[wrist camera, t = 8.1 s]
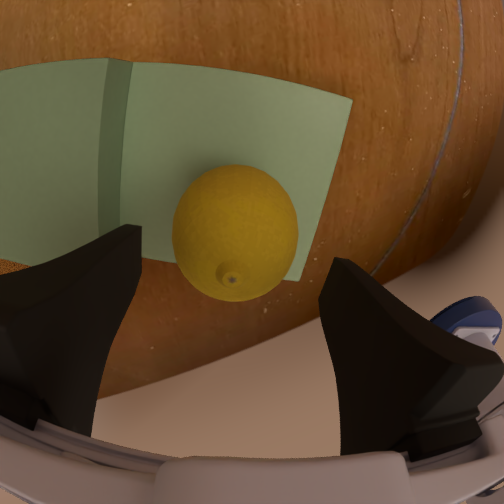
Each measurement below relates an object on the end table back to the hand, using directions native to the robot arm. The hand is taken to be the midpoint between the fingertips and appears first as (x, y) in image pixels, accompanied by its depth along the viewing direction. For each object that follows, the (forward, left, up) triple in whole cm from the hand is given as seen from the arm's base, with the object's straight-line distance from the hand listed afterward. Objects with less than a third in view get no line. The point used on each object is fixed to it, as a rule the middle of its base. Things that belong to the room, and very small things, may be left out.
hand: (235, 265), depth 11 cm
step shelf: (+1, +15, -8) cm, 17 cm away
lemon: (0, 0, -7) cm, 7 cm away
